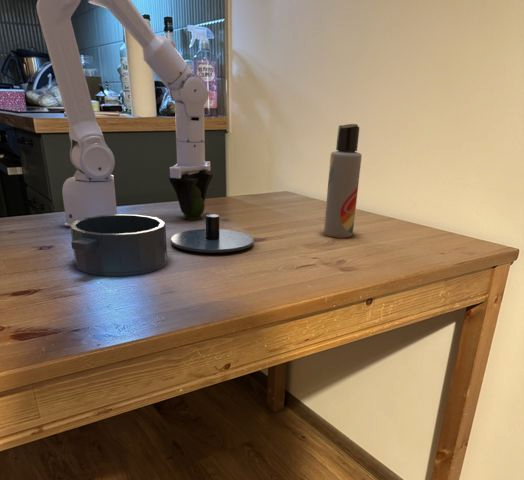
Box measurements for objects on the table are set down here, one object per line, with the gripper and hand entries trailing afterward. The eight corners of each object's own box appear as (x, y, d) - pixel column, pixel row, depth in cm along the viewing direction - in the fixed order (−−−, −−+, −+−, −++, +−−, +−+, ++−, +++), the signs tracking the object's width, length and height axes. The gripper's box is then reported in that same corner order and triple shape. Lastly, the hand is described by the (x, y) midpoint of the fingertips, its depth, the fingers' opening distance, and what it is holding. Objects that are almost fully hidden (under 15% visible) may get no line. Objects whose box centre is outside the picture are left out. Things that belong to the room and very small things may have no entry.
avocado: (176, 219, 106) (174, 185, 103) (187, 214, 111) (186, 182, 108) (198, 221, 105) (197, 187, 102) (208, 217, 109) (208, 184, 106)
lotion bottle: (358, 236, 98) (371, 125, 89) (337, 239, 95) (348, 124, 86) (338, 230, 102) (349, 123, 93) (317, 233, 99) (326, 123, 90)
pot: (43, 273, 71) (36, 232, 69) (120, 243, 87) (116, 208, 85) (125, 287, 67) (121, 243, 65) (189, 252, 84) (188, 216, 81)
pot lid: (155, 249, 85) (153, 219, 82) (194, 231, 97) (193, 204, 95) (234, 260, 80) (235, 228, 78) (264, 240, 93) (265, 212, 91)
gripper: (191, 144, 93) (193, 217, 100) (222, 140, 106) (223, 205, 112) (158, 142, 96) (162, 214, 102) (193, 138, 108) (194, 202, 114)
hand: (192, 209), depth 107 cm, fingers closed on avocado, 5 cm apart
